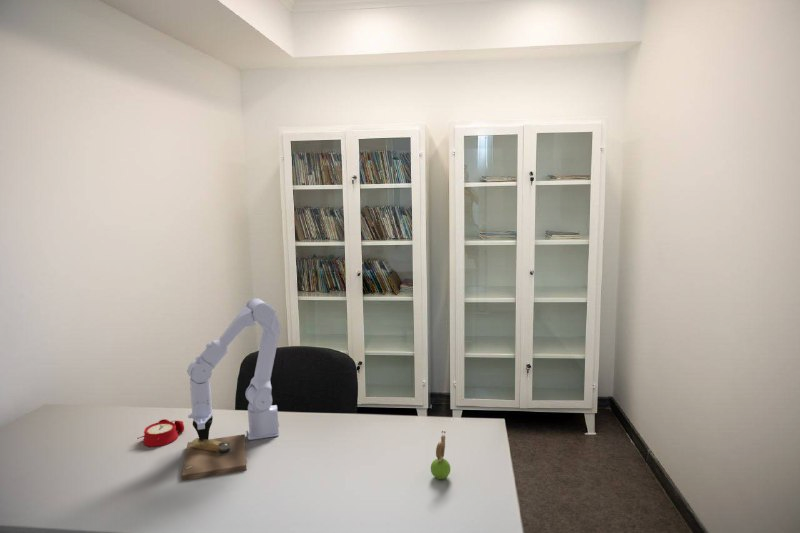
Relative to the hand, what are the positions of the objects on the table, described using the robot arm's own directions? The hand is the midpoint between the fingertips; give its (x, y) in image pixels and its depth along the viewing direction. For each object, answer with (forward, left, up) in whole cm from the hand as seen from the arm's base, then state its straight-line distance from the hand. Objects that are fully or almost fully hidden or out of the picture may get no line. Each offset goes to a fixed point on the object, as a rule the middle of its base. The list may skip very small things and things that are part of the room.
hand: (204, 441), depth 164 cm
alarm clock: (+13, -12, -2) cm, 18 cm away
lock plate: (-4, +8, -2) cm, 9 cm away
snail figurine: (-63, +39, -2) cm, 74 cm away
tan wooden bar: (-2, +5, 0) cm, 6 cm away
